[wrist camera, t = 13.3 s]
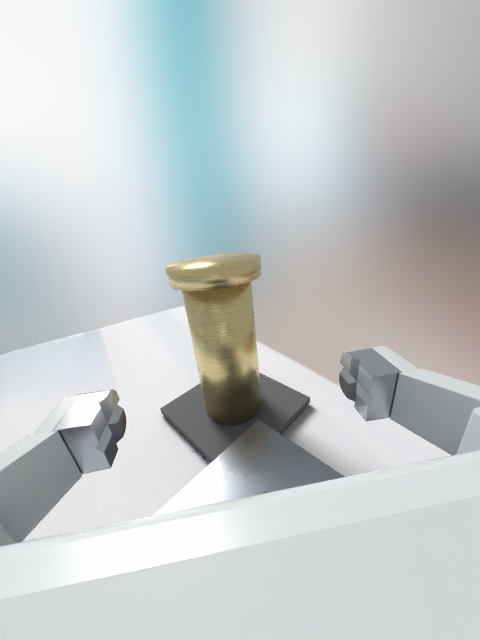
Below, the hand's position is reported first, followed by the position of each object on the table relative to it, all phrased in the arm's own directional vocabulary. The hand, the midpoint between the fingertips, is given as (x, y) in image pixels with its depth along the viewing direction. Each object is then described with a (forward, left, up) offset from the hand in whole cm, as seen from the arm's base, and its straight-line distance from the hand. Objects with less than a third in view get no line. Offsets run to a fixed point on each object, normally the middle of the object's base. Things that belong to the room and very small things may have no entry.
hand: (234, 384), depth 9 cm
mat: (+6, +8, -11) cm, 15 cm away
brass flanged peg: (+6, +8, -10) cm, 15 cm away
